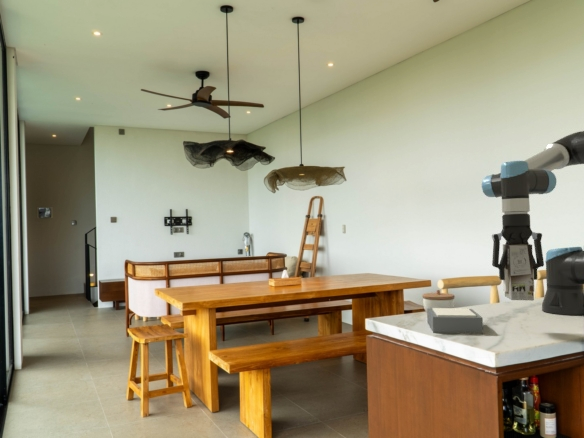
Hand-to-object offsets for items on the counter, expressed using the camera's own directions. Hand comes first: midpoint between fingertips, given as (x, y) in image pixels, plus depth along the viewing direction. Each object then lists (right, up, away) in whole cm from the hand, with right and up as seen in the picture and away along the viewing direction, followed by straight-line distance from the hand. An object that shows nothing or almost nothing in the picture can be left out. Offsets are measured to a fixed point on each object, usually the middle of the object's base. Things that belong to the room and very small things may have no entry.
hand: (518, 290), depth 146 cm
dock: (-17, -12, +6) cm, 22 cm away
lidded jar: (-16, -13, +25) cm, 33 cm away
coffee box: (0, -2, 0) cm, 2 cm away
